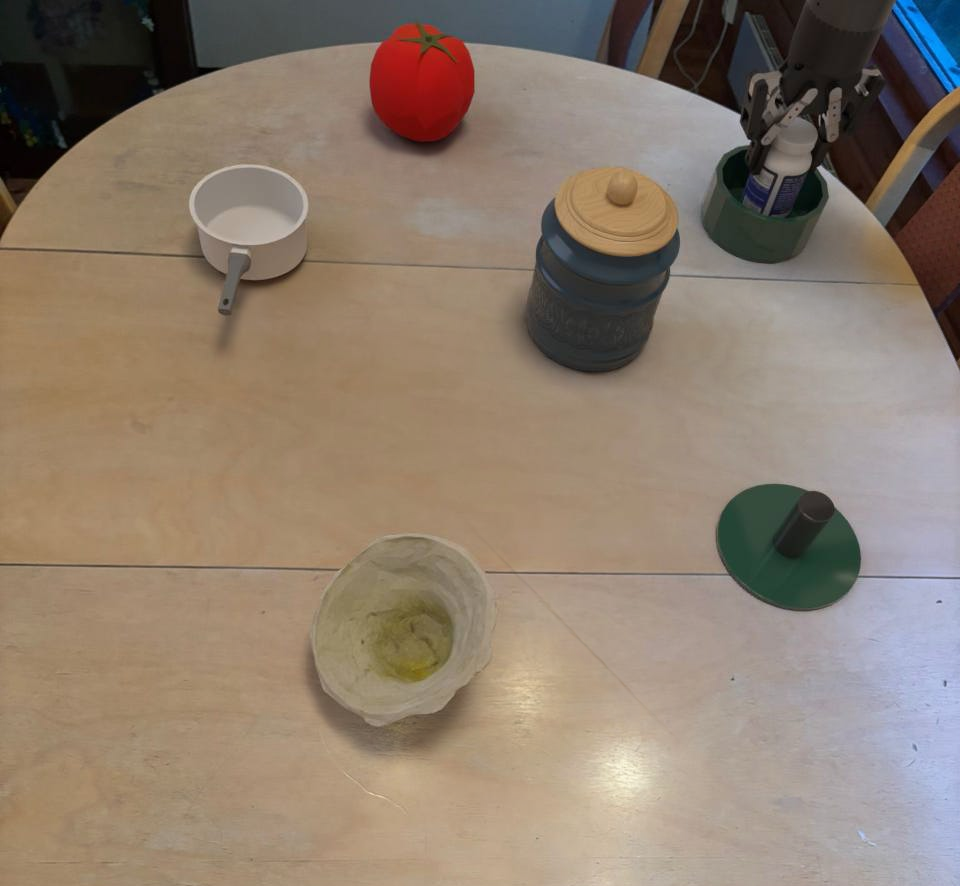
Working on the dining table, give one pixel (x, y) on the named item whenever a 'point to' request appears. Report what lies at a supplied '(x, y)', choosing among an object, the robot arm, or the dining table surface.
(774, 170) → the pill bottle
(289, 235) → the saucepan
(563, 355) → the canister
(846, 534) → the lid
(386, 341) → the dining table surface
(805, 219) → the pot
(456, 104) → the tomato
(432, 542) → the bowl
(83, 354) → the dining table surface
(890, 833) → the dining table surface
